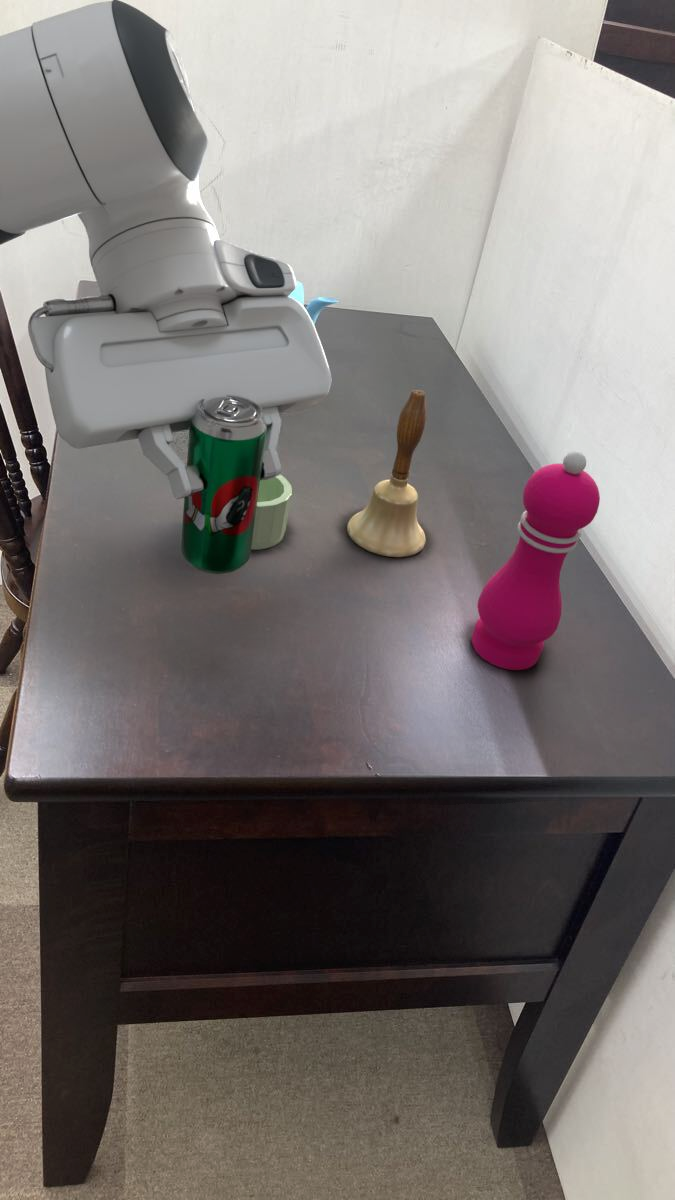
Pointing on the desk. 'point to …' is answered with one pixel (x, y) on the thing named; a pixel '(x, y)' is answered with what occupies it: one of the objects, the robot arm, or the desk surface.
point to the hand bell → (395, 495)
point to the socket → (271, 512)
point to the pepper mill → (535, 566)
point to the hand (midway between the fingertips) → (231, 486)
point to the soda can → (223, 483)
